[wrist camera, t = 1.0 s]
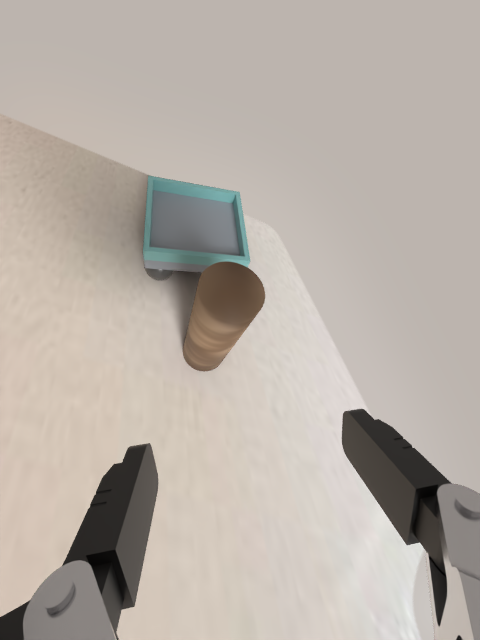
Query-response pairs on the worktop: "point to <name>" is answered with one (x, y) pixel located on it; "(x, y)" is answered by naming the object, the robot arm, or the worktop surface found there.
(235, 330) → the cylinder
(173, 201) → the wheeled cart
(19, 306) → the worktop surface
